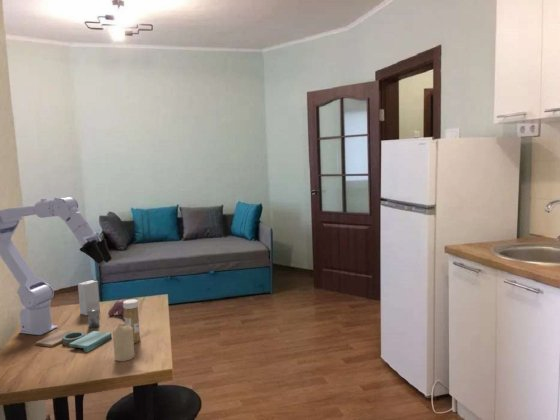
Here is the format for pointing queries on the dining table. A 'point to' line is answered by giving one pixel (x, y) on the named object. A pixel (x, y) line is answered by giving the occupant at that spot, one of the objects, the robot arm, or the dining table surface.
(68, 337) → the hinge
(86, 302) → the skincare box
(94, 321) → the pin
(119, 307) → the video game controller
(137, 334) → the sprinkles bottle
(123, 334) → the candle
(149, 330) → the dining table surface
